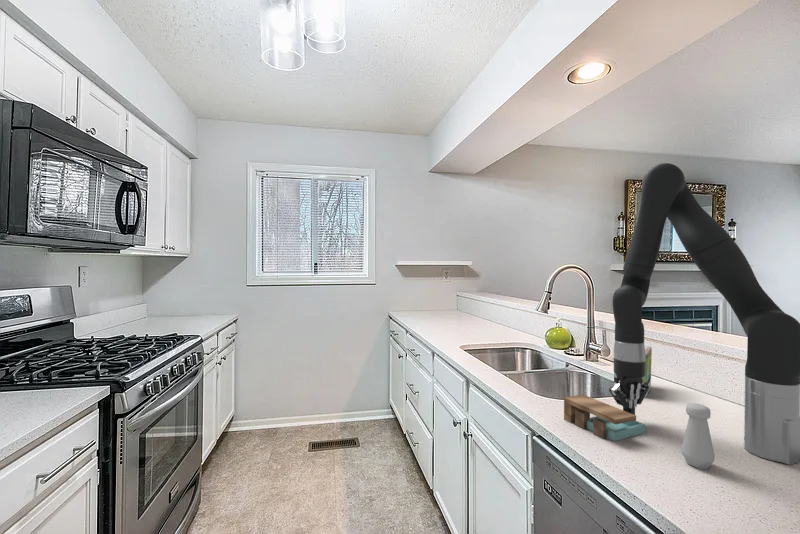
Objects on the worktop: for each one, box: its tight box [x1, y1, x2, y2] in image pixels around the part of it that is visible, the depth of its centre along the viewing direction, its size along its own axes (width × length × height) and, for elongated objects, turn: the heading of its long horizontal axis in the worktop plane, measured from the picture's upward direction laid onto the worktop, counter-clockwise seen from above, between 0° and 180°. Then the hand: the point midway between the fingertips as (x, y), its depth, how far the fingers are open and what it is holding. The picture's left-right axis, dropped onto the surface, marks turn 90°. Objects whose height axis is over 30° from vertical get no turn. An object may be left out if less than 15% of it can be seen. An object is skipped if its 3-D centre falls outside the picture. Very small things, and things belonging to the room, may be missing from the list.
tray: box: [586, 416, 646, 442], centre depth 102 cm, size 9×12×2 cm
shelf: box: [563, 394, 637, 440], centre depth 102 cm, size 16×7×6 cm, turn 21°
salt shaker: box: [681, 403, 715, 470], centre depth 84 cm, size 6×6×13 cm
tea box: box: [613, 346, 653, 399], centre depth 135 cm, size 15×10×15 cm, turn 143°
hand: (629, 420), depth 106 cm, fingers closed
